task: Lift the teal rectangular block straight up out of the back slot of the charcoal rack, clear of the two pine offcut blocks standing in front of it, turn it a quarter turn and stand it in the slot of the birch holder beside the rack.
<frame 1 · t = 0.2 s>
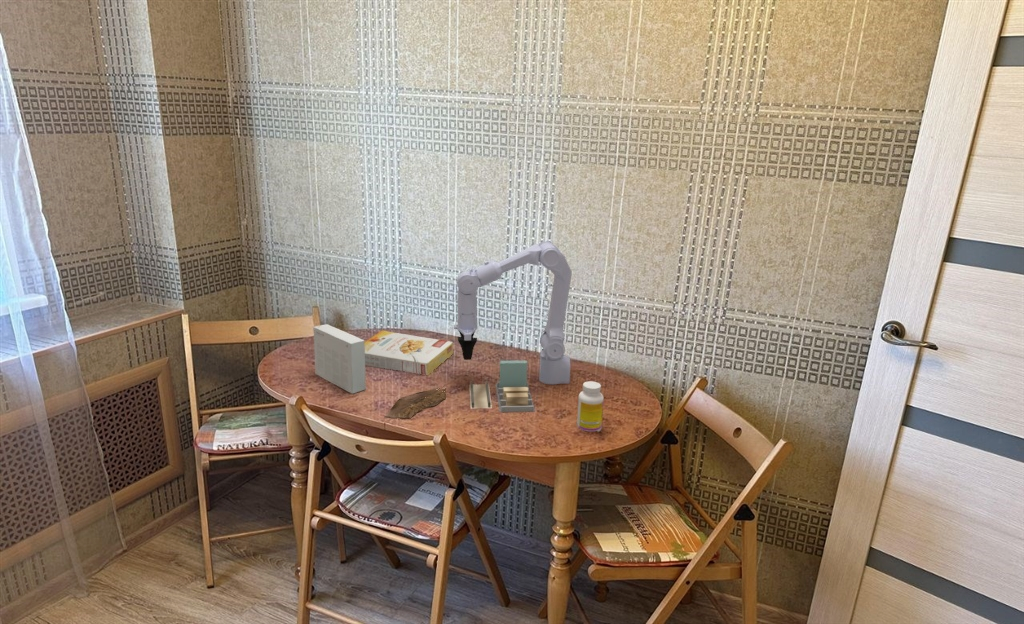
hand: (467, 354, 189), 10 cm above the table, tool pointing down, fingers open, 7 cm apart
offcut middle: (515, 401, 179), point 1 cm above the table, touching rack
offcut front: (516, 407, 175), point 1 cm above the table, touching rack
holder: (480, 399, 182), on the table
wooden fragment: (419, 403, 180), on the table
teal rectangular block: (512, 389, 187), point 1 cm above the table, touching rack
supplement bottle: (588, 429, 167), on the table
cereal box: (404, 360, 211), on the table
skincare box: (340, 382, 192), on the table
rack: (514, 399, 182), on the table
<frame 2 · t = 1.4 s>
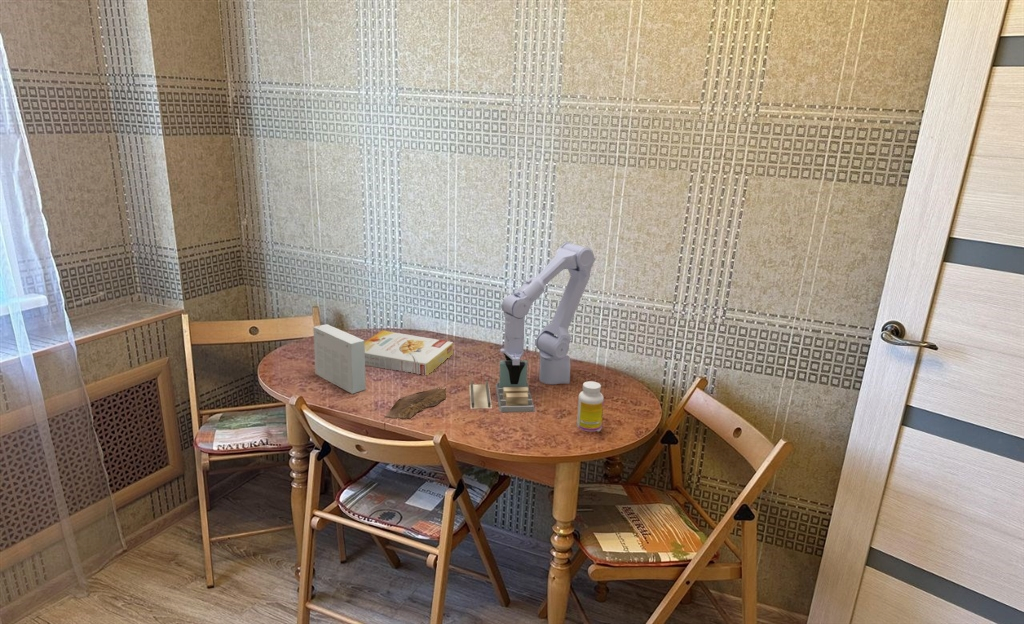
hand: (513, 378, 186), 5 cm above the table, tool pointing down, fingers open, 7 cm apart
nothing on the table moved.
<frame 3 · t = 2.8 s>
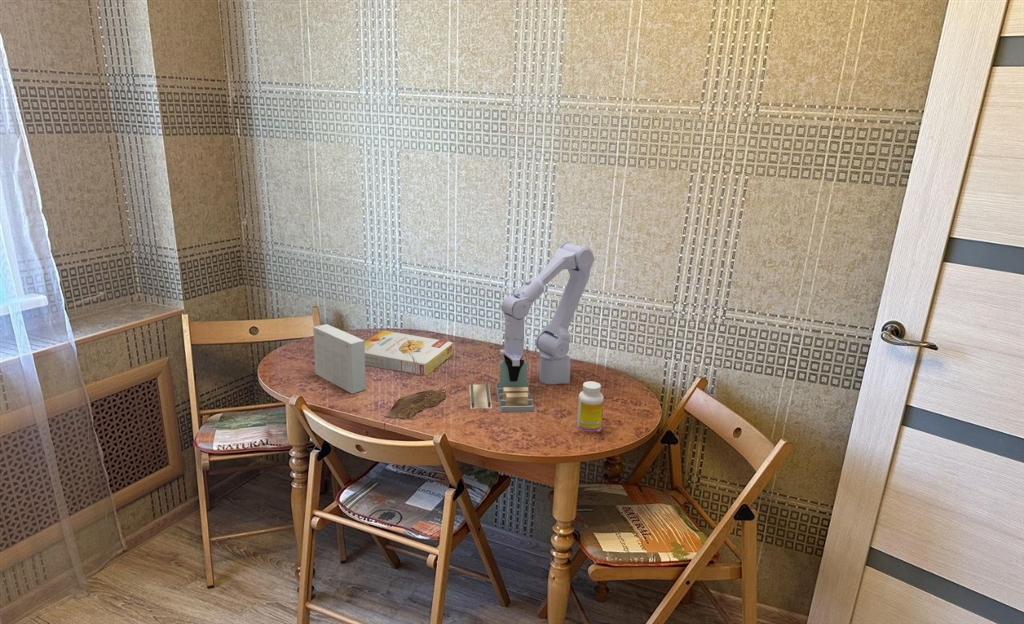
hand: (513, 379, 186), 4 cm above the table, tool pointing down, fingers closed on teal rectangular block, 2 cm apart
teal rectangular block: (512, 389, 187), point 1 cm above the table, touching gripper, rack
everything else where it was.
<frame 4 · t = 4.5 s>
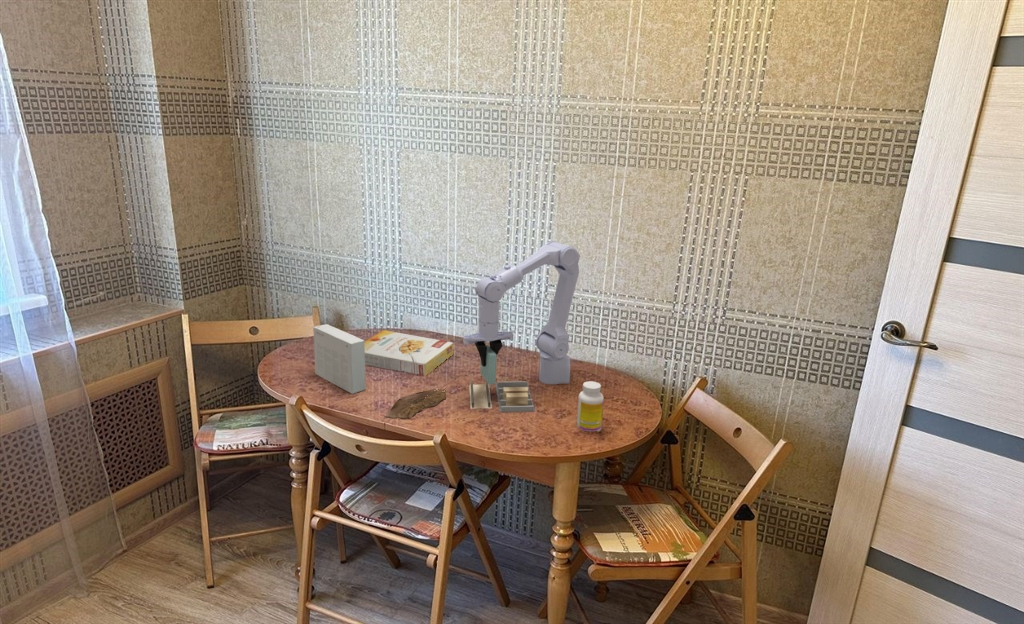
hand: (487, 364, 180), 11 cm above the table, tool pointing down, fingers closed on teal rectangular block
teal rectangular block: (488, 378, 181), point 6 cm above the table, touching gripper
everything else where it was.
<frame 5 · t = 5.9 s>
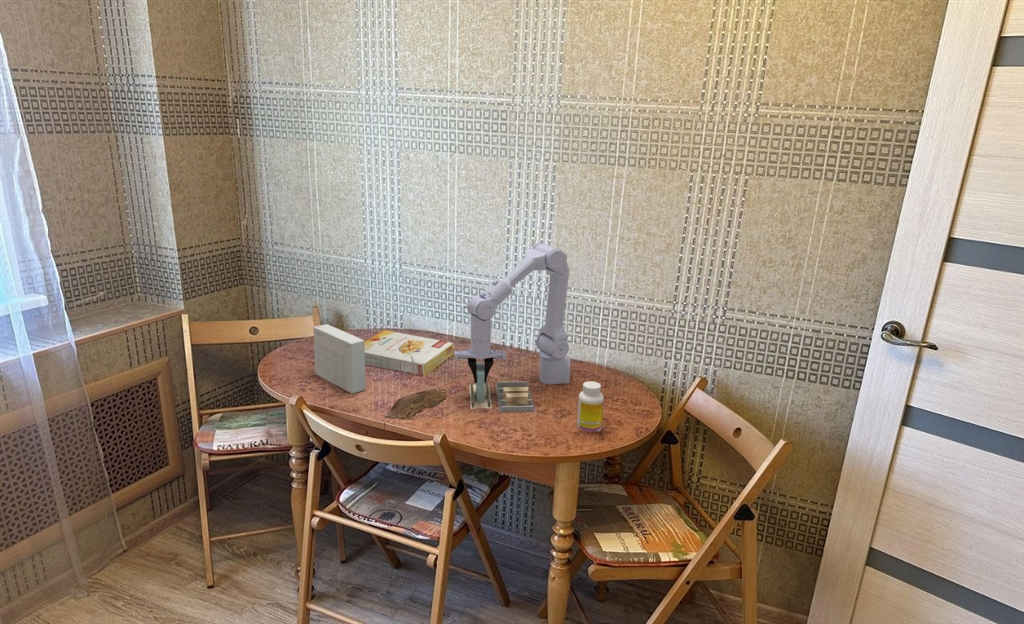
hand: (480, 381, 181), 6 cm above the table, tool pointing down, fingers closed on teal rectangular block, 2 cm apart
teal rectangular block: (480, 396, 182), point 1 cm above the table, touching gripper, holder
everything else where it was.
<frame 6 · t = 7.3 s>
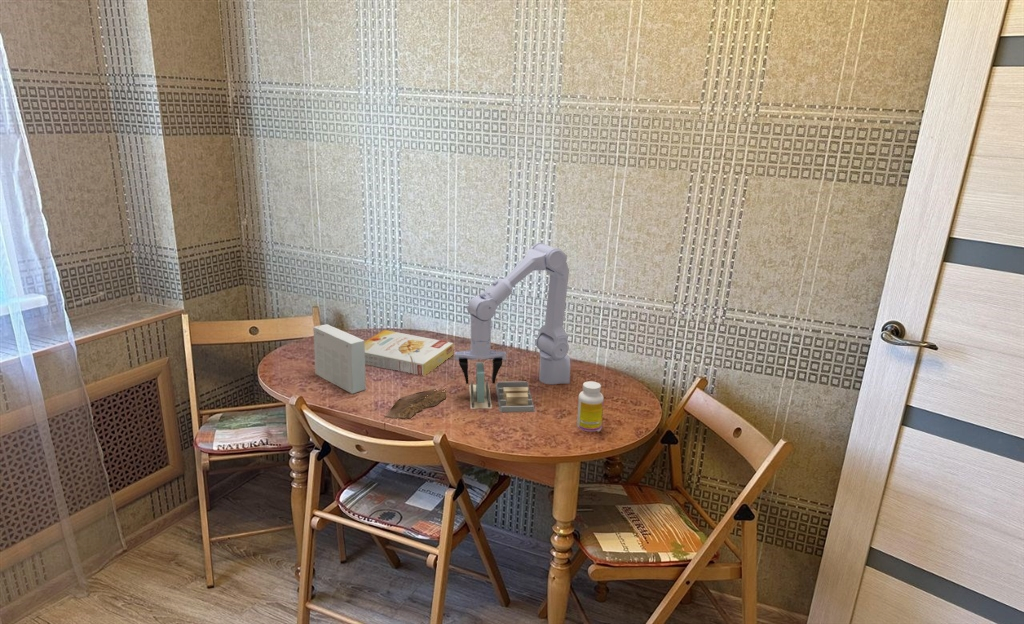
hand: (480, 382, 181), 5 cm above the table, tool pointing down, fingers open, 7 cm apart
teal rectangular block: (480, 396, 182), point 1 cm above the table, touching holder
everything else where it was.
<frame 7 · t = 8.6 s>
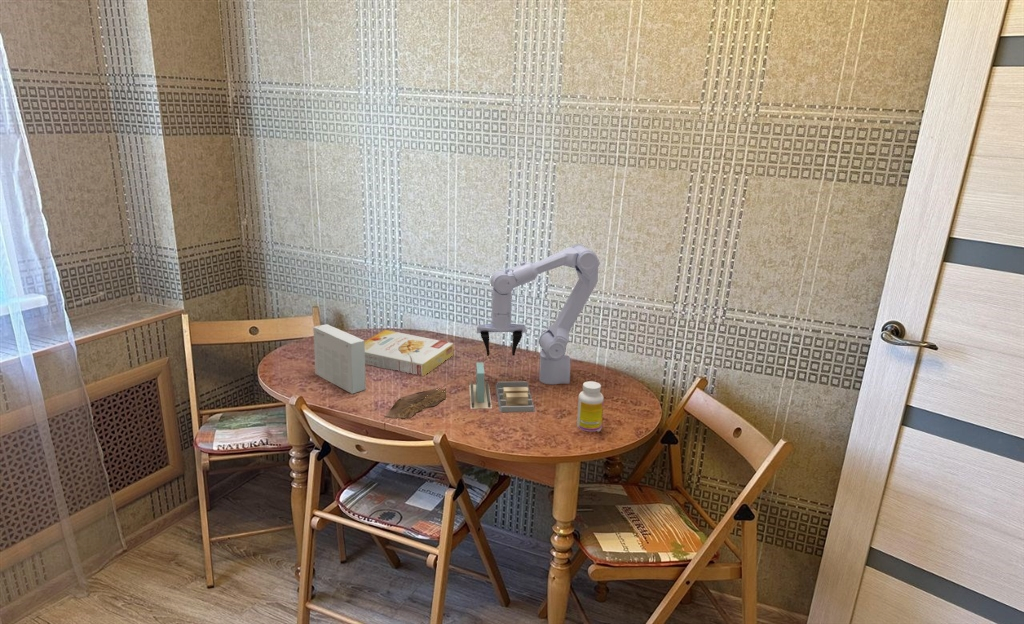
hand: (500, 354, 188), 10 cm above the table, tool pointing down, fingers open, 7 cm apart
nothing on the table moved.
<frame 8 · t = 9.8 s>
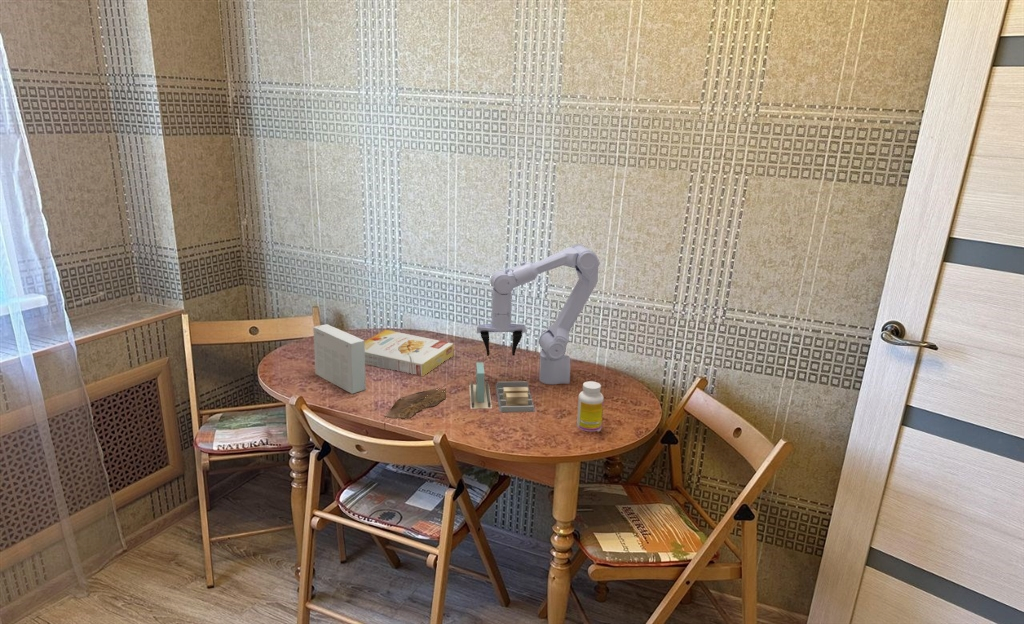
hand: (500, 354, 188), 10 cm above the table, tool pointing down, fingers open, 7 cm apart
nothing on the table moved.
at the end: teal rectangular block 0.2 cm off-centre on the holder, point 1.0 cm above the holder's base; teal rectangular block tilted 0°; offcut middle moved 0.1 cm from its start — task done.
